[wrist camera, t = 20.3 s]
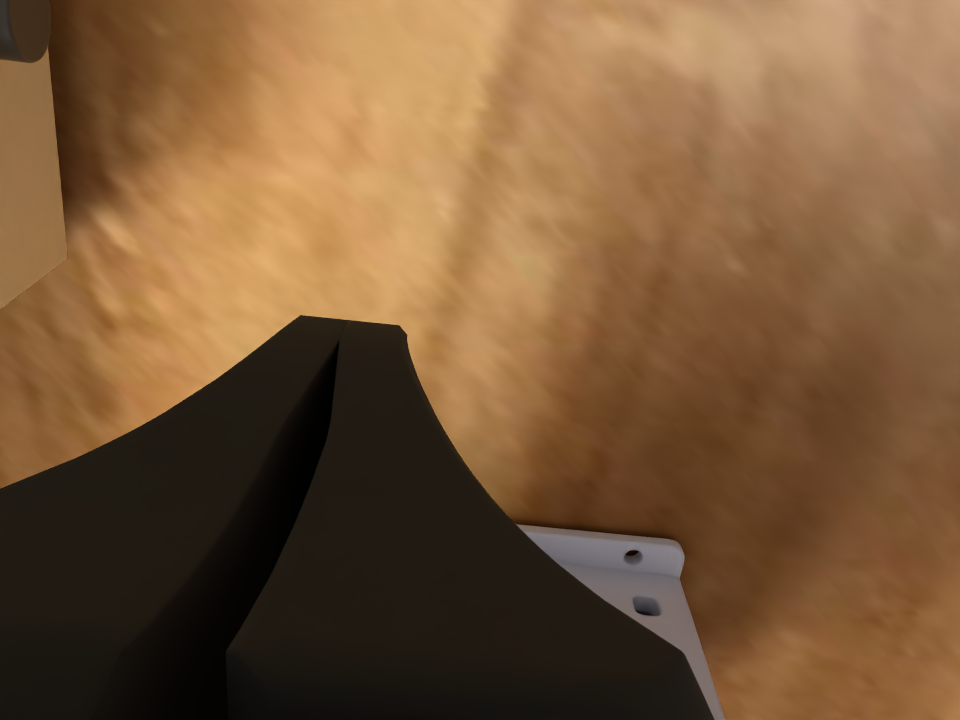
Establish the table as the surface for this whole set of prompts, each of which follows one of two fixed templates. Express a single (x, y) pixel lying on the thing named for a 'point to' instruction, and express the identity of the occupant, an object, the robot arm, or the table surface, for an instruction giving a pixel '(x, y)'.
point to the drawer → (27, 151)
